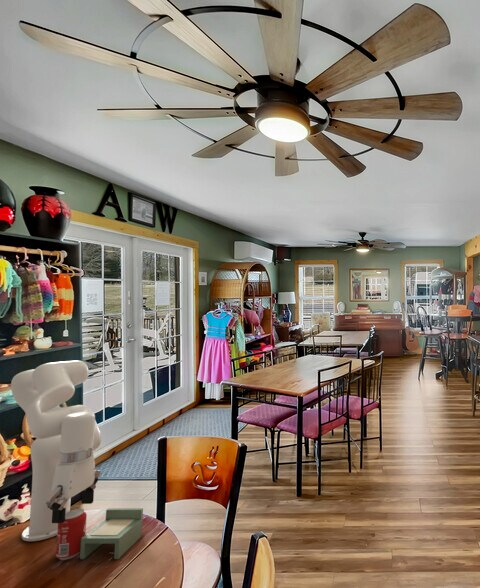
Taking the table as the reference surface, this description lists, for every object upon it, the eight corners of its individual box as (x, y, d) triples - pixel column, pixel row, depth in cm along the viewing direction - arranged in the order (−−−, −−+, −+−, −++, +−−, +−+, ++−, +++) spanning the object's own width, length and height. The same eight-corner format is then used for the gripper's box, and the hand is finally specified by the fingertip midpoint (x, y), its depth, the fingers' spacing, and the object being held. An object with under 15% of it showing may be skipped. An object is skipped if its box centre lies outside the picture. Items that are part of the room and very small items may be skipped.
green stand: (79, 559, 100) (81, 528, 101) (106, 536, 110) (108, 508, 111) (118, 559, 101) (120, 528, 101) (141, 536, 111) (143, 508, 111)
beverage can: (90, 547, 105) (92, 508, 105) (68, 563, 99) (71, 520, 99) (71, 545, 106) (74, 506, 106) (49, 560, 99) (52, 518, 100)
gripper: (88, 443, 112) (85, 496, 111) (35, 467, 94) (31, 531, 94) (111, 443, 112) (109, 496, 111) (63, 467, 95) (59, 531, 94)
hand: (73, 512), depth 102 cm, fingers open, 9 cm apart
